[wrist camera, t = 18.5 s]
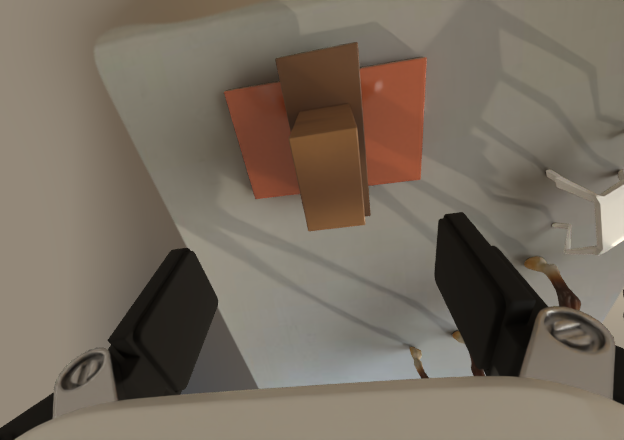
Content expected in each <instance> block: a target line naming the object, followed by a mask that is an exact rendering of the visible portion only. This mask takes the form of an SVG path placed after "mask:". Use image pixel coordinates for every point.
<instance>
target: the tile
mask: <svg viewBox="0 0 624 440" xmlns="http://www.w3.org/2000/svg"><path fill="white" fill-rule="evenodd" d="M426 62H427V58H426V57H418V58H412V59H406V60H400V61H394V62H388V63H382V64H377V65H371V66H365V67H360V80H361V93H362V107H363V120H364V134H365V148H366V161H367V175H368V186H370V185H378V184H386V183H395V182H403V181H412V180H420V179H421V159H422V140H423V120H424V101H425V82H426ZM224 94H225V98H226V101H227V105H228V108H229V111H230V115H231V118H232V121H233V125H234V128H235V132H236V135H237V138H238V142H239V145H240V149H241V152H242V155H243V159H244V162H245V165H246V169H247V172H248V176H249V179H250V182H251V186H252V189H253V192H254V196H255V199H260V198H269V197H277V196H285V195H294V194H300V190H299V185H298V181H297V176H296V171H295V167H294V162H293V158H292V153H291V148H290V144H289V136H290V134H291V132H290V127H289V122H288V118H287V113H286V108H285V103H284V99H283V94H282V89H281V84H280V81H276V82H271V83H265V84H259V85H253V86H247V87H241V88H235V89H229V90H227V91H225V92H224Z"/></svg>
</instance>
